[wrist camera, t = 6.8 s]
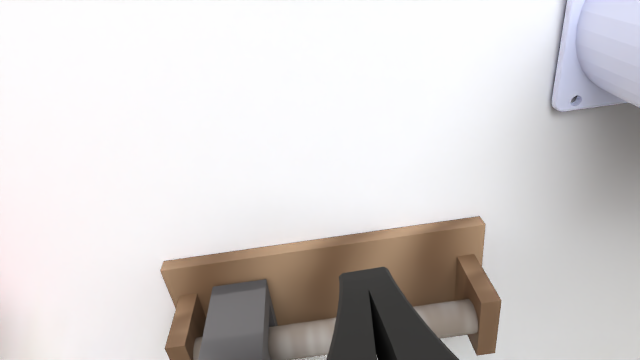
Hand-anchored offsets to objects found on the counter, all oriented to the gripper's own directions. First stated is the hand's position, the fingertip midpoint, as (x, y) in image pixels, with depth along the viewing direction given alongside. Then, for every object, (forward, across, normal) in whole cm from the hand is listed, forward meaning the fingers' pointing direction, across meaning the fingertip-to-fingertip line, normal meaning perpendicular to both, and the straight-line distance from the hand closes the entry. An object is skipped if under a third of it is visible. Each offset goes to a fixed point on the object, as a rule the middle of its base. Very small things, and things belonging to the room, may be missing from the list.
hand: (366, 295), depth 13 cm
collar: (+9, +6, +10) cm, 15 cm away
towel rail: (+10, +1, +10) cm, 14 cm away
